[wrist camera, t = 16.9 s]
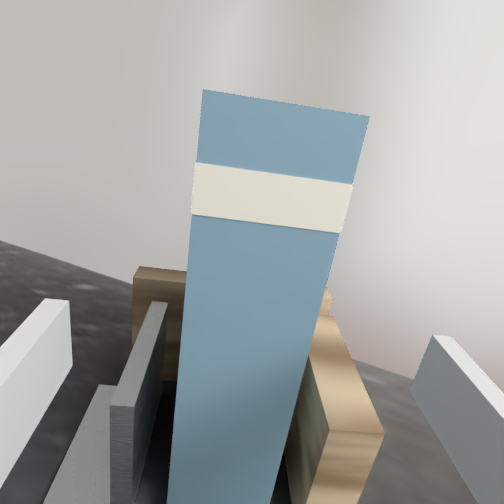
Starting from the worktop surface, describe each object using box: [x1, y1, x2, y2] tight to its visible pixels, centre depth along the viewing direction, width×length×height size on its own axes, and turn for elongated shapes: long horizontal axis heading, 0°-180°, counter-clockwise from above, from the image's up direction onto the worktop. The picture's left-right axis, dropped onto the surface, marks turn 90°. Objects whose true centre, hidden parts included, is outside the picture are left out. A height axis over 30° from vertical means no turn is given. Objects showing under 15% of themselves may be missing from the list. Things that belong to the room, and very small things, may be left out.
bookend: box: [43, 301, 168, 504], centre depth 24 cm, size 10×5×9 cm, turn 3°
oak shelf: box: [131, 266, 385, 504], centre depth 26 cm, size 14×16×10 cm
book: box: [167, 89, 369, 504], centre depth 22 cm, size 10×6×24 cm, turn 3°
